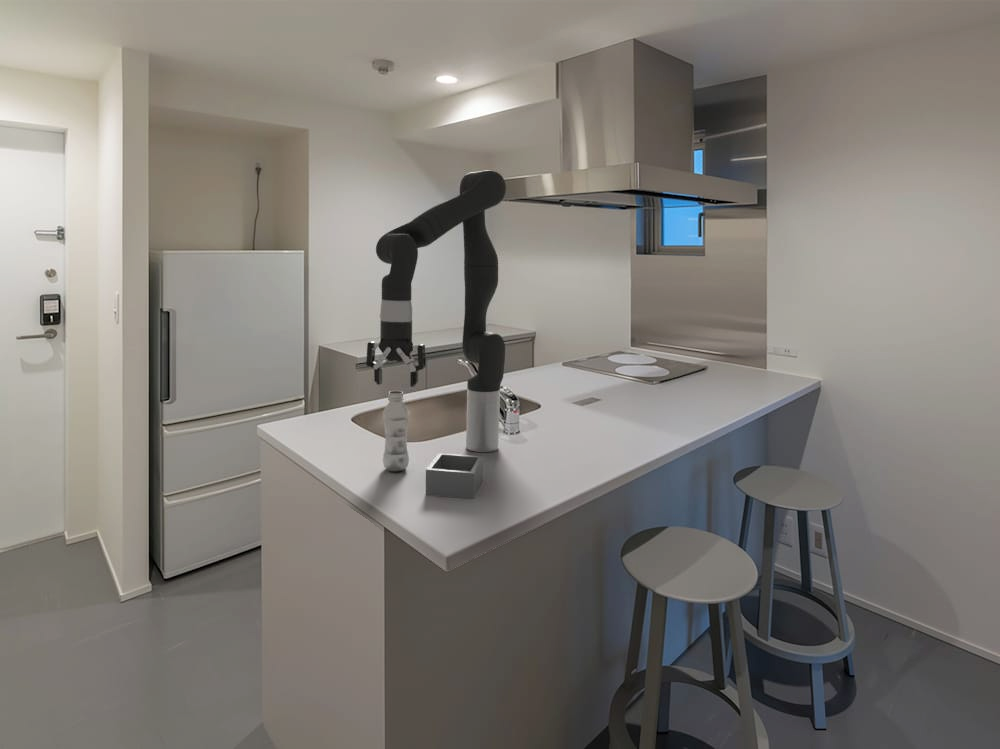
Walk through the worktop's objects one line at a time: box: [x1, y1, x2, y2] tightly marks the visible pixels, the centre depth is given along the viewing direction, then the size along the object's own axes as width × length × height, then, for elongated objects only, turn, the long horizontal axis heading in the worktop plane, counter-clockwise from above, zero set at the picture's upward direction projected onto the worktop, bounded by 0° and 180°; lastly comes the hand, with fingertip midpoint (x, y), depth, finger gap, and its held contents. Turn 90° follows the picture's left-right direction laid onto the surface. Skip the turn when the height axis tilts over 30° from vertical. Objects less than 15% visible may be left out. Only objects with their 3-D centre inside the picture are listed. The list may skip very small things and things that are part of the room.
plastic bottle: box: [382, 390, 410, 472], centre depth 147 cm, size 6×7×20 cm
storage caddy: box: [425, 452, 484, 500], centre depth 138 cm, size 12×11×6 cm
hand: (396, 385), depth 145 cm, fingers open, 8 cm apart
